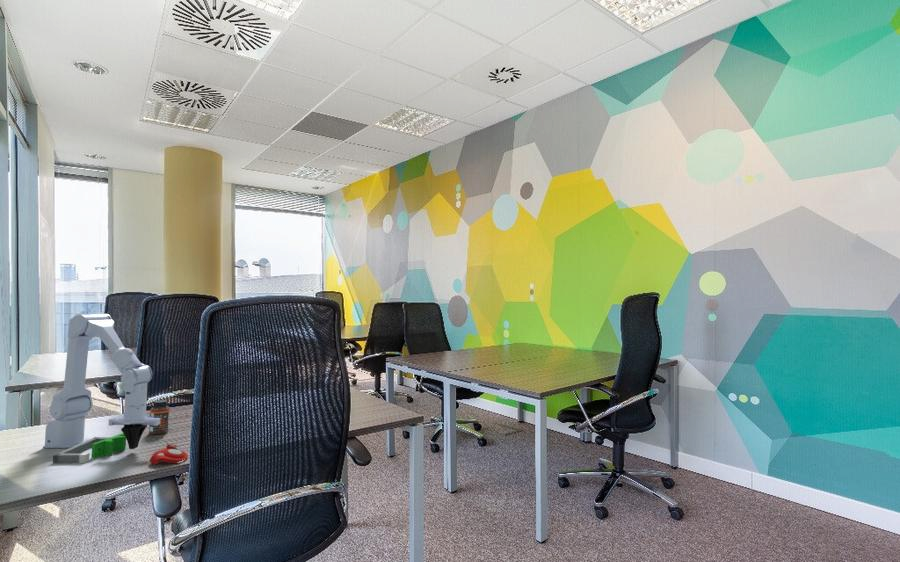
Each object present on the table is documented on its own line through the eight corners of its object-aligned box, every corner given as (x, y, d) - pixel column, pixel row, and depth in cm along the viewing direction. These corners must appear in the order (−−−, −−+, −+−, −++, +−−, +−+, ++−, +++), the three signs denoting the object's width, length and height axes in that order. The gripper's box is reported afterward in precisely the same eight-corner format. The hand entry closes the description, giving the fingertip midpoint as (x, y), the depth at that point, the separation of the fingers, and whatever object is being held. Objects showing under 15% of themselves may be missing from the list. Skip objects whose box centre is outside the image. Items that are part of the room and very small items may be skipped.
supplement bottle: (150, 436, 156) (152, 403, 157) (147, 432, 160) (148, 400, 161) (170, 432, 160) (171, 401, 161) (166, 428, 165) (168, 398, 165)
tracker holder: (195, 456, 136) (162, 457, 127) (189, 470, 135) (156, 472, 127) (177, 439, 142) (144, 440, 134) (171, 452, 142) (138, 454, 133)
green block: (102, 459, 134) (102, 444, 134) (91, 459, 134) (91, 443, 134) (133, 447, 145) (133, 433, 145) (122, 446, 145) (123, 432, 146)
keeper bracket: (52, 463, 130) (52, 455, 130) (94, 443, 147) (95, 436, 147) (84, 462, 130) (85, 455, 131) (123, 443, 148) (123, 436, 148)
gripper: (102, 407, 136) (100, 452, 135) (151, 408, 137) (149, 452, 136) (118, 402, 143) (115, 444, 142) (164, 402, 144) (162, 444, 143)
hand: (133, 448), depth 140 cm, fingers closed
